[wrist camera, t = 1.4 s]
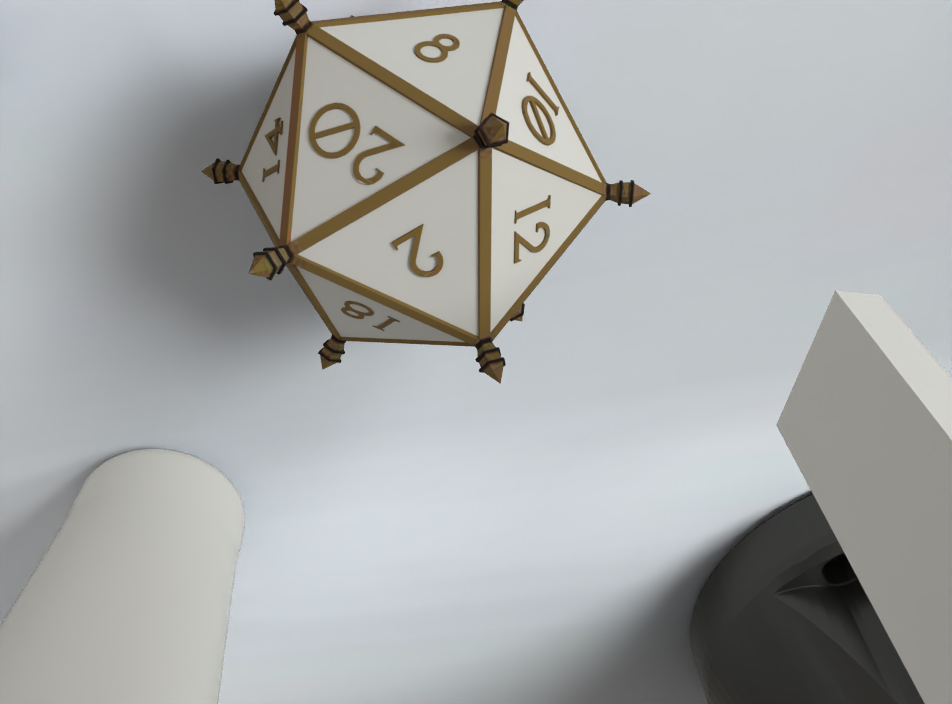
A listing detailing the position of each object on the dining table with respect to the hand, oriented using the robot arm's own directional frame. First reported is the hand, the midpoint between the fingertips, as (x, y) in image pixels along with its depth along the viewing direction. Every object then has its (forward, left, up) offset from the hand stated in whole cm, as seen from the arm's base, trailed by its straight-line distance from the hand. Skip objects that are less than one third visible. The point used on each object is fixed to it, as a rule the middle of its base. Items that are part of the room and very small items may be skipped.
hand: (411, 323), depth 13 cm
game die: (0, 0, -11) cm, 11 cm away
